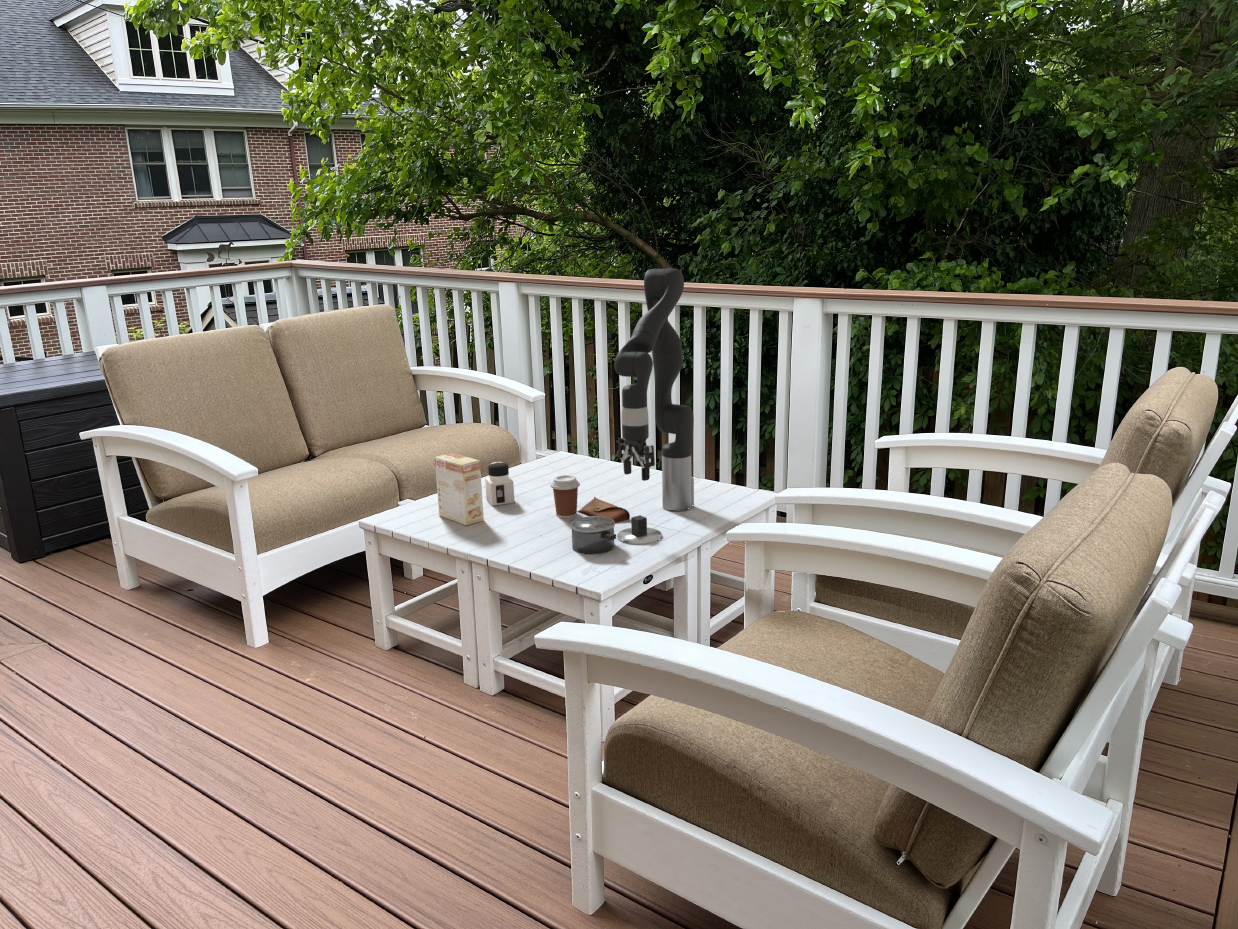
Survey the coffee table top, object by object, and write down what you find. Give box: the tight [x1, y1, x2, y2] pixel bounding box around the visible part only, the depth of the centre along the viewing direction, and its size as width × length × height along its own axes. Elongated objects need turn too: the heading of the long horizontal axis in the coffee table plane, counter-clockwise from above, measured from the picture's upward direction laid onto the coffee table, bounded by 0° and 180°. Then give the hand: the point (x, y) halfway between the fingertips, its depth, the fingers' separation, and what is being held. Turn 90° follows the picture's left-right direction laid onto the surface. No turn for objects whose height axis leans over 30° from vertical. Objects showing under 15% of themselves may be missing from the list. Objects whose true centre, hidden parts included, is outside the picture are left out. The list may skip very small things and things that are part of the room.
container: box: [484, 461, 516, 507], centre depth 311 cm, size 8×8×13 cm
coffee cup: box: [550, 474, 581, 519], centre depth 296 cm, size 9×9×12 cm
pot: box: [569, 516, 617, 555], centre depth 269 cm, size 13×19×7 cm, turn 36°
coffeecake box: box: [434, 452, 485, 526], centre depth 295 cm, size 15×7×20 cm, turn 44°
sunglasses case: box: [577, 496, 631, 524], centre depth 296 cm, size 18×7×7 cm
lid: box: [616, 514, 663, 546], centre depth 276 cm, size 13×13×6 cm
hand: (636, 476), depth 272 cm, fingers open, 8 cm apart
